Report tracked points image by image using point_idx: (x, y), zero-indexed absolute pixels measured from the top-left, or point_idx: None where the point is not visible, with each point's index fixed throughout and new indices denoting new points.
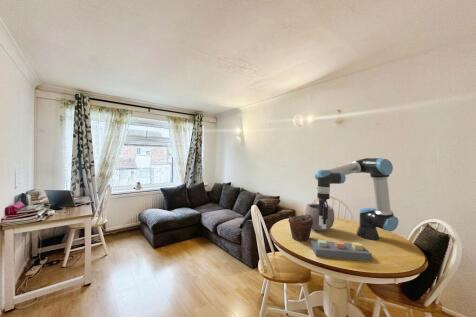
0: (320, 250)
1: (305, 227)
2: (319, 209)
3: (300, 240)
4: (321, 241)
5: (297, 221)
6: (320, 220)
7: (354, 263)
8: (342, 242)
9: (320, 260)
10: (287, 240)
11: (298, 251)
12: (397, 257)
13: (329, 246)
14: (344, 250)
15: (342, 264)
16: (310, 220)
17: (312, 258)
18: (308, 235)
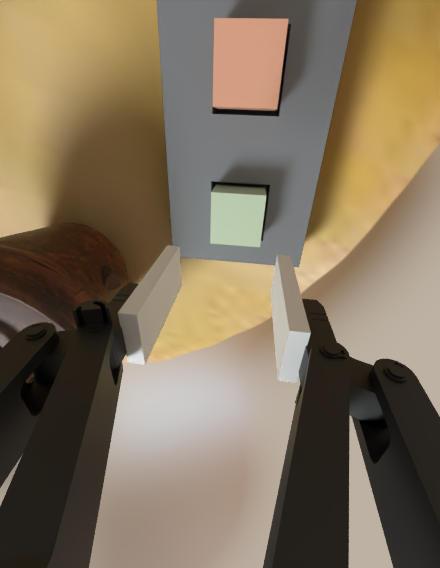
0: (302, 242)
1: None
2: (19, 451)
3: (127, 279)
4: (240, 227)
5: None
6: (165, 311)
7: (404, 11)
8: (240, 24)
9: (338, 241)
10: None
11: (247, 311)
12: None
13: (251, 164)
14: (321, 52)
15: (399, 125)
16: (19, 299)
17: (315, 272)
18: (96, 250)
